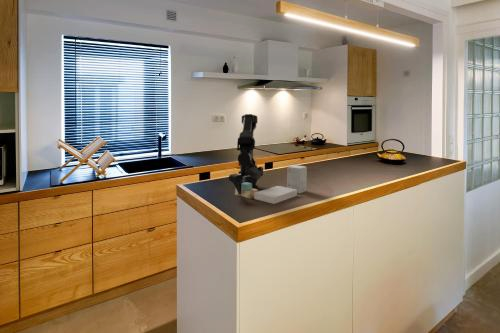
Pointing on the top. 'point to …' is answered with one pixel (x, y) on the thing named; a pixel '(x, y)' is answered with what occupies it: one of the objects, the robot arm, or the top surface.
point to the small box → (297, 178)
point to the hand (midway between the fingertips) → (246, 192)
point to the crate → (246, 186)
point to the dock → (275, 194)
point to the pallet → (246, 193)
